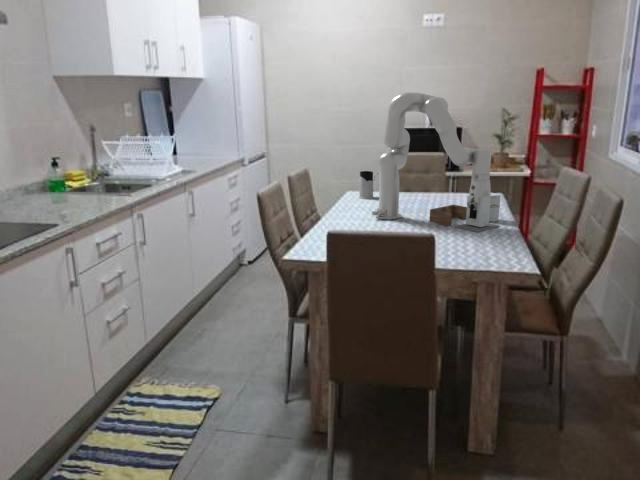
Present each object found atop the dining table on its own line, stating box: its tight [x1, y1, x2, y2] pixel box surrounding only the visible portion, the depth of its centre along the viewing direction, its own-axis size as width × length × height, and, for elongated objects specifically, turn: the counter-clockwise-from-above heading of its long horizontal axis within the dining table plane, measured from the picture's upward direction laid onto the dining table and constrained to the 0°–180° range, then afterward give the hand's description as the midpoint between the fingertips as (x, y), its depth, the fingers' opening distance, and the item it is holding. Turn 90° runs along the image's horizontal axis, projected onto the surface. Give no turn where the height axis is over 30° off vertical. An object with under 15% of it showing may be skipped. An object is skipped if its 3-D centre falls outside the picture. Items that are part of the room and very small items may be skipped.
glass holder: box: [358, 170, 379, 200], centre depth 307 cm, size 9×14×15 cm, turn 118°
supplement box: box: [489, 192, 501, 223], centre depth 249 cm, size 7×7×13 cm
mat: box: [454, 222, 500, 233], centre depth 237 cm, size 16×12×1 cm
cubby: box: [429, 204, 467, 227], centre depth 248 cm, size 17×12×6 cm
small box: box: [465, 195, 491, 227], centre depth 235 cm, size 8×6×13 cm
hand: (477, 216), depth 236 cm, fingers closed on small box, 6 cm apart
